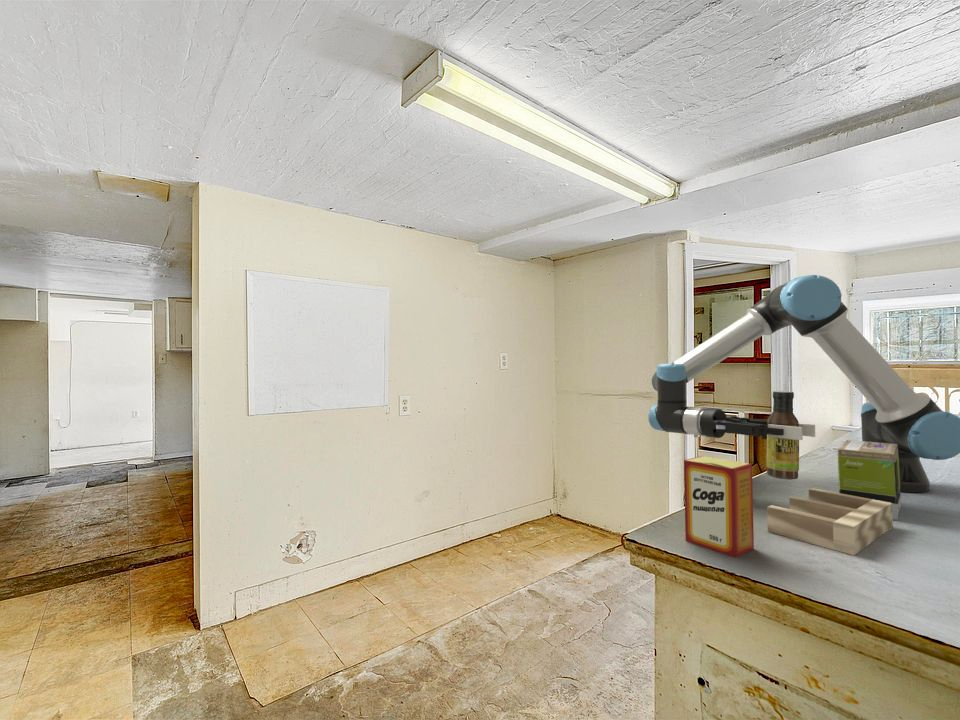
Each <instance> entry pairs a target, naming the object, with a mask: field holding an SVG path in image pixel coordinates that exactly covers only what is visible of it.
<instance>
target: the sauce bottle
mask: <svg viewBox="0 0 960 720" xmlns="http://www.w3.org/2000/svg"><path fill="white" fill-rule="evenodd" d="M794 397H795V393H794V391H789V390H773V391H772V398H773V407H772V412H771V414H770V415H769V416H768V418H767V420H768V421H767V425H769V424H771V425H782V426H793V427H799V423H800V422H799V420H798V418H797V416H796V415H795V414H794V413H793V412H794V407H793V406H794V404H793V403H794ZM766 469H767V470H766V475H768V476H769V477H772V478H774V479H780V480H786V481H787V480H798V478H799V471H800V440H795V439H787V438H778V437H769V436H768V434H767V439H766Z"/></svg>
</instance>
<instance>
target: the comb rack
mask: <svg viewBox="0 0 960 720" xmlns="http://www.w3.org/2000/svg"><path fill="white" fill-rule="evenodd" d="M788 500H789V501H788V502H789V505H788V506H789V508H786V507H782V506H778V505H773V504H771V505H769V506H766V515H767V516H766V517H767V519H766V520H767V521H766V523H767V526H766V527H767V533H771V532H772V533H771V534H774V533H775V535H778V534H779V535H780V536H781V537H786V538H790V539H793V540H797V541H801V542H805V543H807V544H811V545H816V546H819V547H823V548H827V549H830V550H834V551H837V552H842V553H844V554H849V555H852V556H856V555H857V554H858V553H859V552H861V551H862V550H863V549H864V548H866V547H868V546H869V545H870V544H872V543H873V542H874V541H876V540H877V539H878V537H879V538H880V537H881V536H883V535H884V534H885V533H887V532H888V531H889V529H890V528H891V529H893V526H894V525H893V523H894V520H893V516H892V503H890V502H885V501H879V500H874V499H868V498H863V497H858V496H852V495H847V494H841V493H839V492H834V491H830V490H824V489H820V488H819V489H818V488H814V487H812V488H809V489H808V498H804V497H799V496H796V495H795V496H794V495H792V496H790V497H789V498H788ZM891 529H890V530H891ZM887 530H888V531H887ZM886 531H887V532H886ZM882 534H883V535H882ZM779 535H778V536H779Z"/></svg>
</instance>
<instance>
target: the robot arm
mask: <svg viewBox="0 0 960 720" xmlns="http://www.w3.org/2000/svg"><path fill="white" fill-rule="evenodd" d="M842 297H843V296H842V292H841V289H840V287H839V286H838V284H837V283H836V282H835V281H834V280H832V279H831V278H828V277H826V276H823V275H817V274H810V275H809V274H808V275H803V276H798V277H795V278H794V279H791V280H789V281H787V282H786V283H783V284H781V285H778V286H777V287H775V288H774V289H773V290H771V291H770V292H768V294H767V295H765V296H764V297H763V298H762V299H760V300H759V301H758V302H756V303H755V304H753V305H752V306H751V307H749V308H748V309H747V310H746V314H745V315H743V316H742V317H740V318H739V319H737V320H735V321H734V322H733V323H731V324H729V325H728V326H727V327H725V328H723V329H721V330H720V331H718V332H717V333H715V334H714V335H712V336H710V337H709V338H708V339H706V340H705V341H704V342H702V343H700V344H698V345H697V346H695V347H694V348H693V349H691V350H689V351H688V352H686V353H685V354H683V355H681V356H680V357H678V358H677V359H676V360H674V361H672V362H671V363H659V364H658V365H657V366H656V368H657V369H656V371H655V372H654V374H653V375H652V377H651V385H652V388H653V389H654V390H655V391H656V392H657V403H656V404H654V405H652V406H651V407H650V408H649V413H648V416H647V417H648V422H649V425H650V426H651V428H652V429H654V430H656V431H662V432H665V433H673V434H674V433H675V434H681V435H682V434H684V435H691V436H692V435H693V437H694V438H698V437H699V436H700V437H706V438H714V439H715V438H716V439H721V438H723V436H724V435H725V434H735V435H743V436H750V437H756V438H757V437H758V438H759V437H761V440H767V434H768V436H769V437H778V438H787V439H795V440H799V441H803V438H804V437H812V438H816V424H813V423H812V424H811V423H801V422H799V427H793V426H782V425H771V424H769V425H767V421H768V419H760V418H759V419H757V418H749V417H739V416H735V415H730V416H727V413H725V411H724V410H722V409H720V408H713V407H701V406H699V407H698V406H687V383H689V382H691V381H692V380H694V379H696V378H697V377H698V376H700V375H702V374H703V373H705V372H707V371H708V370H709V369H711V368H713V367H715V366H716V365H718V364H719V363H721V362H722V361H724V360H725V359H728V357H731V356H732V355H733V354H735V353H737V352H738V351H740V350H743V348H745V347H746V346H748V345H750V344H752V343H753V342H755V341H756V340H757V339H760V338H761V337H762V336H771V335H772V334H774V333H775V332H777V331H780V330H781V329H783V328H787V327H789V326H792V327H793V328H794V329H795V330H796V331H797V333H798V334H799V335H800V336H801V337H805V338H811V339H813V340H814V342H815V343H816V344H817V345H818V346H819V347H820V348H821V350H822V351H823V352H824V353H825V354H826V355H827V356H828V357H829V359H830V360H831V361H832V362H833V363H834V364H835V366H836V367H838V368H839V370H840V371H841V372H842V374H844V375H845V376H846V377H847V379H848V380H850V382H851V383H852V385H854V387H856V389H857V390H858V391H859V392H860V393H861V394H862V395H863V397H864V398H865V399H866V400H867V401H868V402H865V403H863V404H862V406H861V410H860V418H861V419H860V421H861V441H865V442H878V443H889V444H897V445H898V455H899V472H900V491H901V492H902V493H904V492H905V493H926V492H929V491H930V486H931V485H930V480H929V478H928V475H927V473H926V471H925V469H924V466H923V465H922V463H921V460H920V458H922V459H924V460H925V459H926V460H935V461H942V460H943V461H944V460H949V459H952V458H954V457H956V456H957V455H960V417H959V416H957V415H955V414H953V413H951V412H948V411H943V410H942V409H941V408H940V407H939V406H938V405H937V403H936V402H935V401H934V400H933V399H932V398H931V397H930V396H929V395H928V394H925V393H917V392H915V391H914V390H913V389H912V387H911V386H910V385H909V384H908V383H907V382H906V381H905V380H904V379H903V378H902V377H901V376H900V375H899V373H898V372H897V371H896V370H895V369H894V368H893V367H892V366H891V365H890V364H889V362H888V361H887V360H886V359H885V358H884V357H883V356H882V355H881V353H879V352H878V351H877V349H876V348H875V347H874V346H873V345H872V344H871V343H870V342H869V341H868V339H866V338H865V336H864V335H863V334H862V333H861V332H860V331H859V329H857V327H856V326H854V324H852V322H851V321H850V320H849V319H848V316H847V315H848V311H849V308H848V307H847V306H846V305H845V303H843V301H842Z"/></svg>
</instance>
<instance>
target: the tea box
mask: <svg viewBox="0 0 960 720" xmlns="http://www.w3.org/2000/svg"><path fill="white" fill-rule="evenodd" d="M837 468H838V469H837V470H838V472H837V473H838V489H839V492H838V493H841V494H847V495H852V496H858V497H863V498H868V499H874V500H879V501H885V502H890V503H892V516H893V521H898V518H899V513H900V510H901V505H902V497H901V495H902V493H901V491H900V472H899V455H898V445H897V444H889V443H878V442H865V441H862V440H845V441H844V443H843V444H842V445H841V446H839V448H838V449H837Z"/></svg>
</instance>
